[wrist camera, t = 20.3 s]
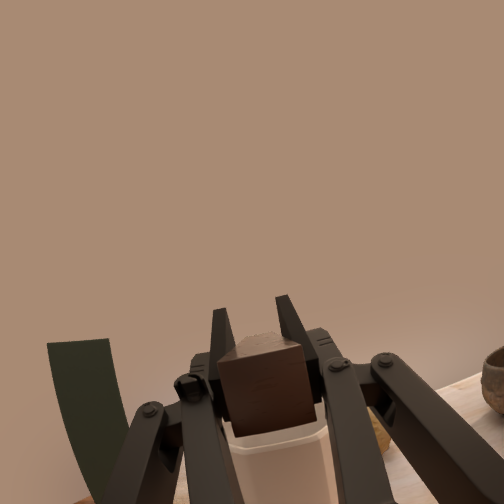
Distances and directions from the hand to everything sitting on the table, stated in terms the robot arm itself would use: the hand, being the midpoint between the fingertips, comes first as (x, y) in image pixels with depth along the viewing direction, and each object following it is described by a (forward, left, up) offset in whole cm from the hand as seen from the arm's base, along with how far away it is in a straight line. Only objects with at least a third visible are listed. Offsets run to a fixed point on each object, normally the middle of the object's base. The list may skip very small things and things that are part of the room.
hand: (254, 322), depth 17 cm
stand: (-12, +25, -26) cm, 38 cm away
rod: (+2, +3, -4) cm, 5 cm away
